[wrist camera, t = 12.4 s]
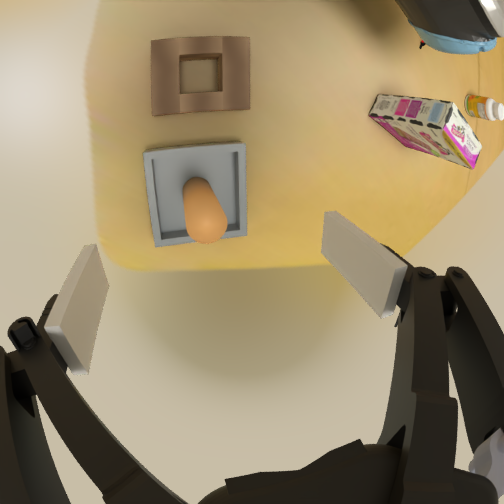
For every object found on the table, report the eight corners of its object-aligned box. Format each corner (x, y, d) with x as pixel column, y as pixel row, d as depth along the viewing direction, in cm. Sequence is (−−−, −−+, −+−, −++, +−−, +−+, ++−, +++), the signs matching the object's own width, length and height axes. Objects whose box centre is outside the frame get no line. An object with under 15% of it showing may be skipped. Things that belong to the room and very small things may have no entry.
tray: (239, 141, 37) (245, 143, 34) (241, 226, 43) (247, 235, 40) (145, 149, 34) (142, 152, 31) (156, 237, 40) (155, 247, 37)
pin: (210, 175, 37) (226, 202, 26) (211, 203, 39) (228, 241, 28) (181, 178, 37) (184, 206, 25) (183, 206, 38) (188, 246, 27)
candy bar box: (366, 116, 40) (442, 129, 26) (377, 93, 38) (453, 99, 24) (405, 148, 44) (474, 171, 30) (414, 127, 43) (483, 145, 29)
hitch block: (242, 44, 31) (249, 37, 27) (242, 109, 35) (250, 109, 32) (153, 48, 28) (151, 40, 24) (154, 116, 33) (152, 115, 29)
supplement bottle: (473, 94, 42) (504, 100, 34) (475, 115, 45) (506, 123, 37) (463, 94, 42) (496, 99, 33) (465, 116, 44) (497, 123, 36)
